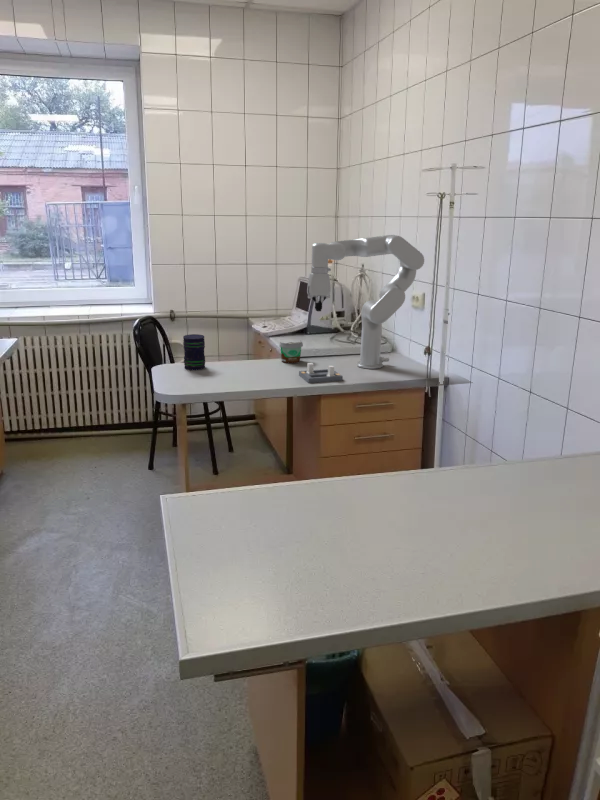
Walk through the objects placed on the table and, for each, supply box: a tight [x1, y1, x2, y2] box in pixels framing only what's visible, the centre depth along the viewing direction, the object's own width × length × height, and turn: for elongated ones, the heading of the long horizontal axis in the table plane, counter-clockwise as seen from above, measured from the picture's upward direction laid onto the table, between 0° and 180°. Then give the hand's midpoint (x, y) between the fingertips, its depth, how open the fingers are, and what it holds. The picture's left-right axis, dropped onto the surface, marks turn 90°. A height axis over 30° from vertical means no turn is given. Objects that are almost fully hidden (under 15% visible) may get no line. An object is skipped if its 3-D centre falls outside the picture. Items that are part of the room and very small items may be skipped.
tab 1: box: [306, 362, 315, 374], centre depth 279 cm, size 3×3×5 cm
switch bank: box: [298, 368, 343, 384], centre depth 278 cm, size 16×13×2 cm
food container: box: [278, 340, 304, 364], centre depth 303 cm, size 12×6×10 cm, turn 117°
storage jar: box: [182, 333, 206, 371], centre depth 289 cm, size 10×10×15 cm
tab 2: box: [326, 365, 335, 376], centre depth 275 cm, size 3×3×5 cm
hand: (318, 310), depth 288 cm, fingers closed
